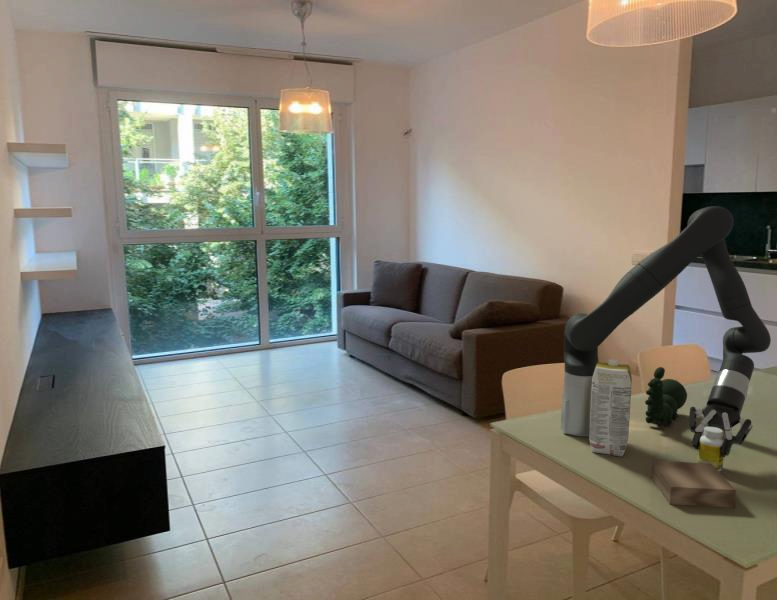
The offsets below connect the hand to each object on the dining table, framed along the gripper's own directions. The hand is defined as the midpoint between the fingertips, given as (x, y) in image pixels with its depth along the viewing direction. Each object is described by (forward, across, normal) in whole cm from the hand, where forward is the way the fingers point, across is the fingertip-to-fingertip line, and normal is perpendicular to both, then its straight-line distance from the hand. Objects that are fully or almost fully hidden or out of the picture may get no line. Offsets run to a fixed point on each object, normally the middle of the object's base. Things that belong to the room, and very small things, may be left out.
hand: (708, 451), depth 142 cm
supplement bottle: (+2, 0, +5) cm, 5 cm away
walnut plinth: (+13, +1, -6) cm, 15 cm away
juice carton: (+7, -22, 0) cm, 23 cm away
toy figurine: (-16, -21, +23) cm, 34 cm away
